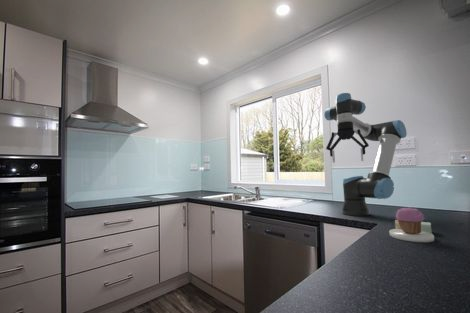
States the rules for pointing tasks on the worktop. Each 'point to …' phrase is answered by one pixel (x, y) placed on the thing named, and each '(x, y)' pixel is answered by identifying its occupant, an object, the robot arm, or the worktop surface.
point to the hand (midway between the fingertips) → (347, 161)
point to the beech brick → (397, 224)
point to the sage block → (426, 227)
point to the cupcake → (410, 220)
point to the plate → (411, 236)
